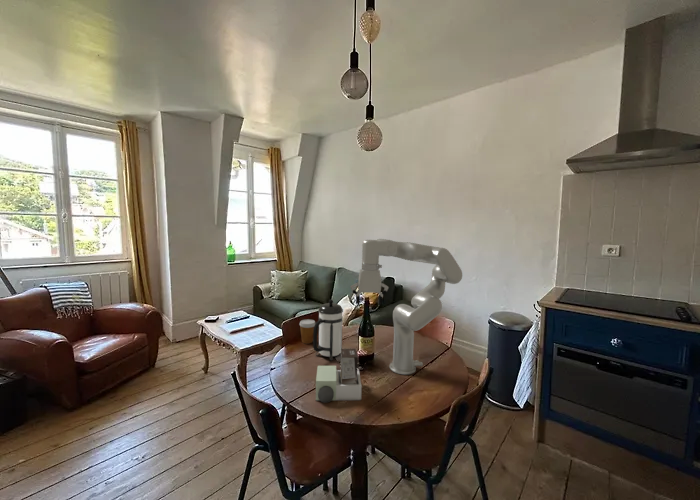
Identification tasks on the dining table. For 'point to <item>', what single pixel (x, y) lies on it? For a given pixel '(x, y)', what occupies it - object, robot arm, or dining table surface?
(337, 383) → the pale green boxy shape
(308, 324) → the disposable coffee cup
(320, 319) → the coffee press
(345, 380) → the coffee box
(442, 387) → the dining table surface
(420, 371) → the dining table surface
